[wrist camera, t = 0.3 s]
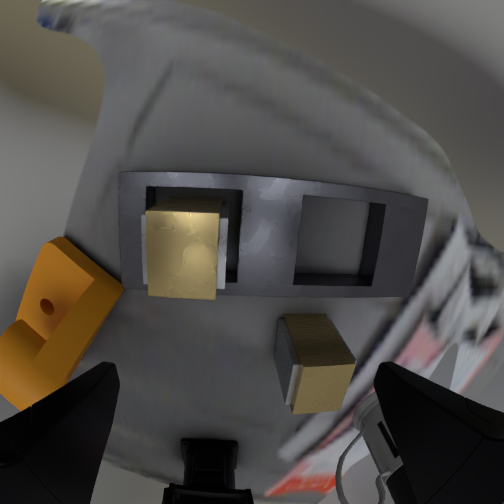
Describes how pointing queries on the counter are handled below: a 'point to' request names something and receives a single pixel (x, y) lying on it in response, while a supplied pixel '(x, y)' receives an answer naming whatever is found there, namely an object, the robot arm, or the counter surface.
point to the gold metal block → (312, 363)
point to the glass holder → (379, 454)
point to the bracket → (54, 322)
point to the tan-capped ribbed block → (185, 247)
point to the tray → (285, 234)
